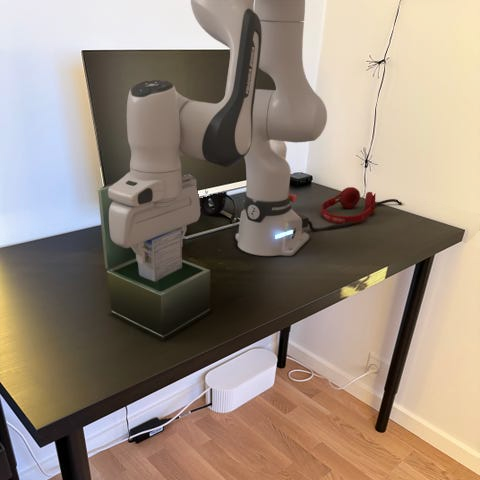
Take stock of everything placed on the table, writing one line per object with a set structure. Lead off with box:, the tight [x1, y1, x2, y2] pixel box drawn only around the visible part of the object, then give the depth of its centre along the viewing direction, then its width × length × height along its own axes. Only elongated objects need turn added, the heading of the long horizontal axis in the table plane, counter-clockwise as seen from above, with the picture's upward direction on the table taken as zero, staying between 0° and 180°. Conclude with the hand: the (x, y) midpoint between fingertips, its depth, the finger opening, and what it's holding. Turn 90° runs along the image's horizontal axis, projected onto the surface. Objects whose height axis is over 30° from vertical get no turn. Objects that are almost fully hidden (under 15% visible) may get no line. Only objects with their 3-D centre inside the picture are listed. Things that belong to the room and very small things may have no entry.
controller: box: [199, 191, 228, 216], centre depth 151 cm, size 4×12×10 cm, turn 53°
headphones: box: [321, 186, 376, 224], centre depth 157 cm, size 15×7×20 cm
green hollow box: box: [106, 258, 211, 341], centre depth 98 cm, size 15×14×10 cm
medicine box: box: [138, 228, 183, 282], centre depth 93 cm, size 8×4×9 cm, turn 144°
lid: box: [97, 182, 136, 270], centre depth 95 cm, size 16×14×5 cm
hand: (160, 254), depth 93 cm, fingers closed on medicine box, 8 cm apart
